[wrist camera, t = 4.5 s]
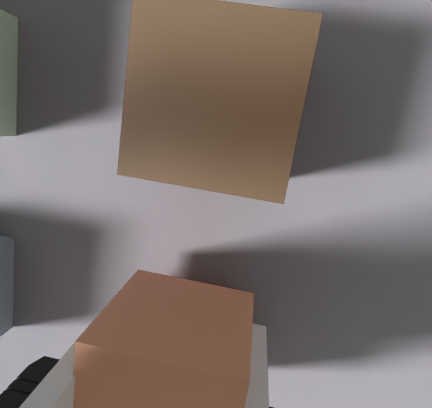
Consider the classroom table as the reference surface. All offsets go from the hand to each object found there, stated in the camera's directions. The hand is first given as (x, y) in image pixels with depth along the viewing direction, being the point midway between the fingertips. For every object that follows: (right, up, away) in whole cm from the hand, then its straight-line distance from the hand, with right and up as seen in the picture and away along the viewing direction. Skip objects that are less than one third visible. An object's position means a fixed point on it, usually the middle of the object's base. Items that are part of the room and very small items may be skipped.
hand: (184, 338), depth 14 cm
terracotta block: (0, 0, 0) cm, 0 cm away
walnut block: (+2, +10, 0) cm, 10 cm away
